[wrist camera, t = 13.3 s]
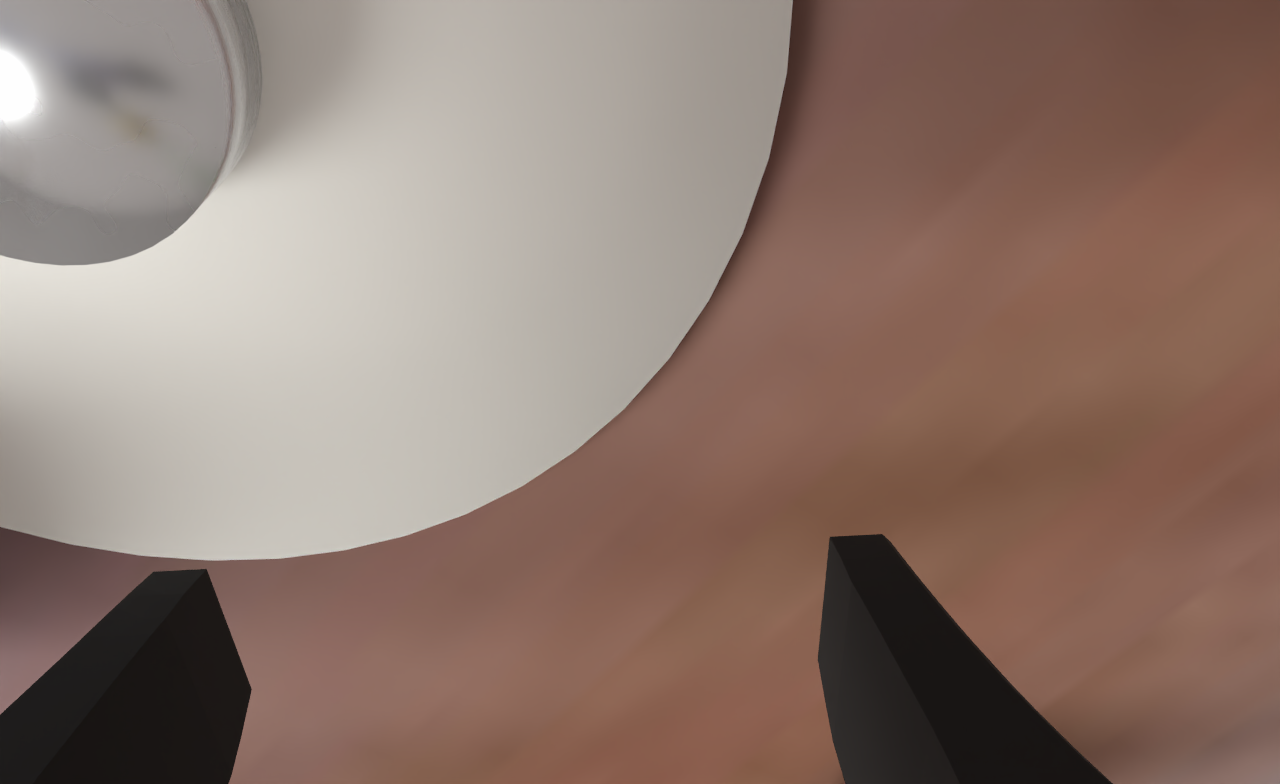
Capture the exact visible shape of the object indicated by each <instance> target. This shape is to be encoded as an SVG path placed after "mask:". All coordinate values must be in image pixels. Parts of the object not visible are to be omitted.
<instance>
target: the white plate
mask: <svg viewBox="0 0 1280 784" xmlns="http://www.w3.org/2000/svg"><path fill="white" fill-rule="evenodd" d="M246 2H247V4H248V7H249V10H250V13H251V16H252V19H253V22H254V25H255V28H256V33H257V38H258V43H259V48H260V53H261V64H262V77H263V80H262V97H261V105H260V110H259V115H258V120H257V124H256V127H255V130H254V132H253V135H252V138H251V140H250V143H249V145H248V147H247V149H246V150H245V152H244V154H243V156H242V157H241V159H240V161H239V163H238V164H237V165H236V166H235V167H234V169H233V170H232V171H231V172H230V174H229V175H228V176H227V177H226V179H225V180H224V181H223V182H222V183H221V184H220V185H219V186H218V187H217V188H216V190H215V191H214V192H213V193H212V194H211V195H210V196H209V197H208V198H207V199H206V200H205V202H204V203H203V204H202V205H201V206H200V207H199V208H198V209H197V210H196V211H195V213H194V214H193V215H192V216H191V217H190V218H189V219H188V220H187V221H186V222H185V223H184V224H183V225H182V226H180V227H179V228H178V229H177V230H176V231H175V232H174V233H173V234H172V235H170V236H168V237H167V238H165V239H164V240H162V241H161V242H159V243H157V244H156V245H154V246H153V247H151V248H148V249H146V250H144V251H141V252H139V253H137V254H135V255H132V256H129V257H125V258H122V259H118V260H114V261H111V262H105V263H97V264H90V265H51V264H41V263H33V262H28V261H23V260H18V259H13V258H8V257H5V256H2V255H0V527H3V528H7V529H11V530H15V531H19V532H23V533H27V534H31V535H35V536H39V537H43V538H47V539H51V540H55V541H59V542H63V543H67V544H71V545H77V546H84V547H90V548H96V549H102V550H109V551H115V552H121V553H128V554H134V555H140V556H152V557H167V558H182V559H196V560H211V561H212V560H250V559H280V558H288V557H296V556H304V555H312V554H320V553H328V552H336V551H343V550H348V549H352V548H356V547H360V546H365V545H369V544H373V543H377V542H382V541H386V540H390V539H394V538H398V537H403V536H406V535H409V534H412V533H415V532H418V531H420V530H423V529H426V528H429V527H432V526H434V525H437V524H440V523H443V522H446V521H448V520H451V519H454V518H457V517H460V516H462V515H465V514H467V513H469V512H471V511H473V510H475V509H477V508H479V507H481V506H483V505H485V504H487V503H489V502H491V501H493V500H495V499H497V498H499V497H502V496H504V495H506V494H508V493H510V492H512V491H514V490H516V489H518V488H520V487H522V486H523V485H525V484H526V483H528V482H529V481H531V480H532V479H534V478H535V477H537V476H538V475H540V474H541V473H543V472H544V471H546V470H547V469H549V468H551V467H552V466H554V465H555V464H557V463H558V462H560V461H561V460H563V459H564V458H566V457H567V456H569V455H570V454H572V453H573V452H575V451H576V450H577V449H578V448H579V447H581V446H582V445H583V444H584V443H585V442H586V441H588V440H589V439H590V438H591V437H592V436H593V435H595V434H596V433H597V432H598V431H599V430H600V429H602V428H603V427H604V426H605V425H606V424H607V423H609V422H610V421H611V420H612V419H613V418H614V417H616V416H617V415H618V414H619V413H620V412H621V411H623V410H624V409H625V408H626V406H627V405H628V404H629V403H630V402H631V401H632V400H633V399H634V398H635V396H636V395H637V394H638V393H639V392H640V391H641V390H642V389H643V388H644V386H645V385H646V384H647V383H648V382H649V381H650V380H651V379H652V377H653V376H654V375H655V374H656V373H657V372H658V371H659V370H660V369H661V367H662V366H663V365H664V364H665V363H666V362H667V361H668V360H669V358H670V357H671V355H672V354H673V353H674V351H675V350H676V348H677V347H678V345H679V344H680V342H681V341H682V339H683V338H684V336H685V335H686V333H687V332H688V331H689V329H690V328H691V326H692V325H693V323H694V322H695V320H696V319H697V317H698V316H699V314H700V313H701V312H702V310H703V309H704V307H705V306H706V304H707V303H708V301H709V299H710V297H711V296H712V294H713V292H714V290H715V288H716V286H717V284H718V282H719V280H720V278H721V276H722V274H723V272H724V270H725V268H726V266H727V264H728V262H729V260H730V258H731V256H732V254H733V252H734V250H735V248H736V246H737V244H738V242H739V240H740V238H741V236H742V234H743V231H744V228H745V225H746V223H747V220H748V217H749V214H750V211H751V208H752V205H753V203H754V200H755V197H756V194H757V191H758V188H759V185H760V182H761V180H762V177H763V174H764V171H765V168H766V165H767V162H768V160H769V156H770V151H771V146H772V142H773V137H774V132H775V127H776V122H777V118H778V113H779V108H780V103H781V99H782V94H783V89H784V84H785V80H786V75H787V66H788V54H789V42H790V30H791V18H792V5H793V0H246Z"/></svg>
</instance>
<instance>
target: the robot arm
mask: <svg viewBox="0 0 1280 784" xmlns="http://www.w3.org/2000/svg"><path fill="white" fill-rule="evenodd" d="M818 663H819V668H820V674H821V680H822V685H823V691H824V697H825V702H826V708H827V713H828V718H829V723H830V728H831V733H832V739H833V743H834V746H835V750H836V753H837V757H838V760H839V763H840V767H841V770H842V773H843V777H844V780H845V783H846V784H1113V783H1111V782H1110V781H1109V780H1108V779H1107V778H1106V777H1105V776H1104V775H1103V774H1102V773H1100V772H1099V771H1098V770H1097V769H1096V768H1095V767H1094V766H1093V765H1092V764H1091V763H1090V762H1089V761H1088V760H1086V759H1085V758H1084V757H1083V756H1082V755H1081V754H1080V753H1079V752H1078V751H1077V750H1076V749H1075V748H1074V747H1073V746H1072V745H1071V744H1070V743H1069V742H1068V741H1067V740H1066V739H1065V738H1064V737H1063V736H1062V735H1061V734H1060V733H1059V732H1058V731H1057V730H1056V729H1055V728H1054V727H1053V726H1052V725H1051V724H1050V723H1049V722H1048V721H1047V720H1046V719H1045V718H1044V717H1042V716H1041V715H1040V714H1039V713H1038V712H1037V711H1036V710H1035V709H1034V708H1033V706H1032V705H1031V704H1030V703H1029V702H1028V701H1027V700H1026V699H1025V698H1024V697H1023V696H1022V695H1021V694H1020V693H1019V692H1018V691H1017V690H1016V689H1015V688H1014V687H1013V686H1012V685H1011V683H1010V682H1009V681H1008V680H1007V679H1006V678H1005V677H1004V676H1003V675H1002V674H1001V672H1000V671H999V670H998V669H997V668H996V667H995V666H994V665H993V664H992V663H991V661H990V660H989V659H988V658H987V657H986V656H985V655H984V654H983V653H982V652H981V650H980V649H979V648H978V647H977V646H976V645H975V644H974V643H973V642H972V641H971V639H970V638H969V637H968V636H967V635H966V634H965V633H964V631H963V630H962V629H961V628H960V627H959V626H958V624H957V623H956V622H955V621H954V620H953V619H952V617H951V616H950V615H949V614H948V613H947V611H946V610H945V609H944V608H943V607H942V605H941V604H940V603H939V602H938V601H937V600H936V598H935V597H934V596H933V595H932V594H931V592H930V591H929V590H928V589H927V587H926V586H925V585H924V584H923V582H922V581H921V580H920V579H919V577H918V576H917V575H916V574H915V572H914V571H913V570H912V569H911V567H910V566H909V565H908V564H907V562H906V561H905V560H904V559H903V557H902V556H901V555H900V554H899V552H898V551H897V550H896V548H895V547H894V546H893V545H892V543H891V542H890V541H889V540H888V539H887V538H886V537H885V536H884V535H882V534H877V535H858V536H838V537H830V540H829V550H828V560H827V571H826V581H825V591H824V601H823V611H822V622H821V632H820V642H819V652H818ZM251 690H252V689H251V686H250V684H249V681H248V678H247V676H246V673H245V670H244V668H243V665H242V662H241V660H240V657H239V654H238V652H237V649H236V646H235V644H234V641H233V638H232V636H231V633H230V630H229V628H228V625H227V622H226V620H225V617H224V614H223V612H222V609H221V606H220V604H219V601H218V598H217V596H216V593H215V590H214V588H213V585H212V582H211V580H210V577H209V574H208V572H207V569H200V570H181V571H162V572H153V573H152V574H151V575H150V576H148V577H147V578H146V579H145V580H144V581H143V582H142V583H140V584H139V585H138V586H137V587H136V588H135V589H134V590H133V591H132V592H131V593H129V594H128V595H127V596H126V597H125V598H124V599H123V600H122V601H121V602H120V603H119V604H118V605H117V606H116V607H115V608H113V609H112V610H111V611H110V612H109V613H108V614H107V615H106V616H105V617H104V618H103V619H102V620H101V621H100V622H99V623H98V624H97V625H96V626H95V627H93V628H92V629H91V630H90V631H89V632H88V633H87V634H86V635H85V636H84V637H83V638H82V639H81V640H80V641H79V642H78V643H77V644H76V645H75V646H74V647H72V648H71V649H70V650H69V651H68V652H67V653H66V654H65V655H64V656H63V657H62V658H61V659H60V660H59V661H58V662H57V663H55V664H54V665H53V666H52V667H51V668H50V669H49V670H48V671H47V672H46V673H45V674H44V675H43V676H41V677H40V678H39V679H38V680H37V681H36V682H35V683H34V684H33V685H32V686H31V687H30V688H29V689H28V690H26V691H25V692H24V693H23V694H22V695H21V696H20V697H19V698H18V699H17V700H16V701H15V702H14V703H12V704H11V705H10V706H9V707H8V708H7V709H6V710H5V711H4V712H3V713H2V714H1V715H0V784H228V783H229V780H230V777H231V775H232V771H233V767H234V763H235V759H236V755H237V751H238V747H239V743H240V739H241V735H242V730H243V726H244V721H245V717H246V712H247V708H248V703H249V699H250V694H251Z"/></svg>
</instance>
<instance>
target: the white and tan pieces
mask: <svg viewBox="0 0 1280 784" xmlns="http://www.w3.org/2000/svg"><path fill="white" fill-rule="evenodd" d="M262 80H263V77H262V64H261V53H260V48H259V43H258V38H257V33H256V28H255V25H254V22H253V19H252V16H251V13H250V10H249V7H248V4H247V2H246V0H0V255H2V256H5V257H8V258H13V259H18V260H23V261H28V262H33V263H41V264H51V265H90V264H97V263H105V262H111V261H114V260H118V259H122V258H125V257H129V256H132V255H135V254H137V253H139V252H141V251H144V250H146V249H148V248H151V247H153V246H154V245H156V244H157V243H159V242H161V241H162V240H164V239H165V238H167V237H168V236H170V235H172V234H173V233H174V232H175V231H176V230H177V229H178V228H179V227H180V226H182V225H183V224H184V223H185V222H186V221H187V220H188V219H189V218H190V217H191V216H192V215H193V214H194V213H195V211H196V210H197V209H198V208H199V207H200V206H201V205H202V204H203V203H204V202H205V200H206V199H207V198H208V197H209V196H210V195H211V194H212V193H213V192H214V191H215V190H216V188H217V187H218V186H219V185H220V184H221V183H222V182H223V181H224V180H225V179H226V177H227V176H228V175H229V174H230V172H231V171H232V170H233V169H234V167H235V166H236V165H237V164H238V163H239V161H240V159H241V157H242V156H243V154H244V152H245V150H246V149H247V147H248V145H249V143H250V140H251V138H252V135H253V132H254V130H255V127H256V124H257V120H258V115H259V110H260V105H261V97H262Z"/></svg>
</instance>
